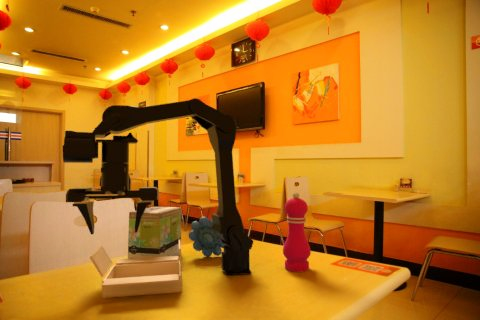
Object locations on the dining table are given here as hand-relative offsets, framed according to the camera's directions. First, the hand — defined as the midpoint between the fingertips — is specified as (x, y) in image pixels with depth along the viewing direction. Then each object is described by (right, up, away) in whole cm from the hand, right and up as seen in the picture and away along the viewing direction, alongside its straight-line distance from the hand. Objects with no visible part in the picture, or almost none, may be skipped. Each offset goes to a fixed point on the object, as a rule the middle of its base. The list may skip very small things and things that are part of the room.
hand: (114, 233), depth 71 cm
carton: (+7, -12, +1) cm, 14 cm away
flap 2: (+14, -6, +3) cm, 15 cm away
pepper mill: (+43, -12, +13) cm, 47 cm away
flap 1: (-2, -6, -1) cm, 6 cm away
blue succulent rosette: (+18, -13, +24) cm, 33 cm away
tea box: (+3, -13, +23) cm, 26 cm away
